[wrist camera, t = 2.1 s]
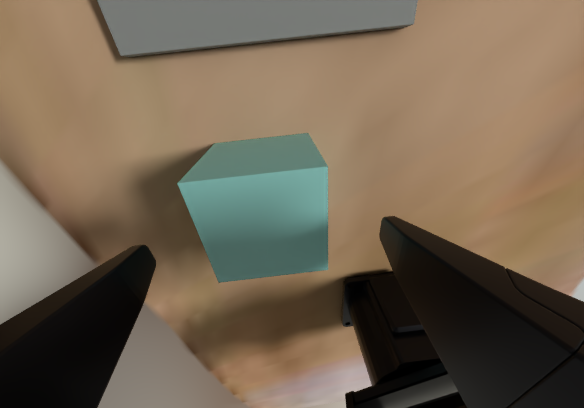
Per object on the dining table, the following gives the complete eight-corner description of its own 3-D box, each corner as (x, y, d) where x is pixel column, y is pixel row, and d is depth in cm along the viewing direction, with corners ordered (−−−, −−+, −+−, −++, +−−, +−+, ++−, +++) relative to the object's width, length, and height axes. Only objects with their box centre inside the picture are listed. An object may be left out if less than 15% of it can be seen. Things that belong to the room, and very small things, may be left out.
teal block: (311, 210, 14) (327, 269, 10) (236, 219, 14) (218, 282, 9) (307, 132, 11) (327, 166, 7) (214, 142, 11) (177, 183, 7)
